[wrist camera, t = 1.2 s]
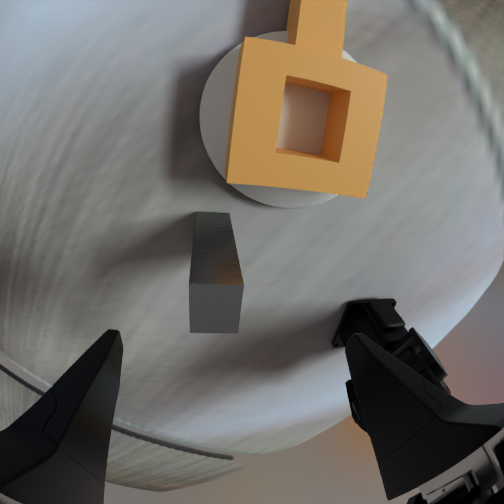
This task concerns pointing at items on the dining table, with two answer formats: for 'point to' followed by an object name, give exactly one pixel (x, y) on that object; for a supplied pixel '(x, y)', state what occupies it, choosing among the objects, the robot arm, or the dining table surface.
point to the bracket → (294, 112)
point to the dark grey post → (214, 276)
